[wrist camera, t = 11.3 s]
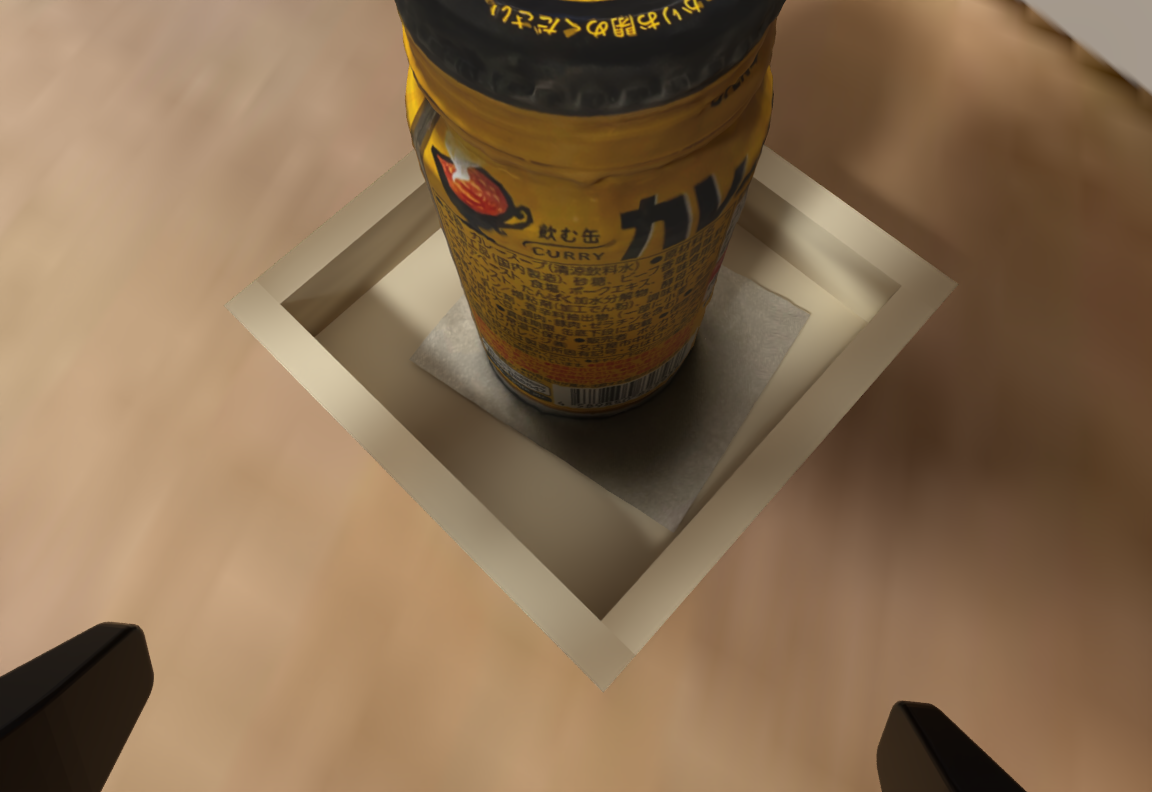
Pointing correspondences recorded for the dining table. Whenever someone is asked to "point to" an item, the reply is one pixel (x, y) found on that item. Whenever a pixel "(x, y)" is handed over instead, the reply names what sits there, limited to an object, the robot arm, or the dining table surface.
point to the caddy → (538, 477)
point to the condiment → (600, 225)
